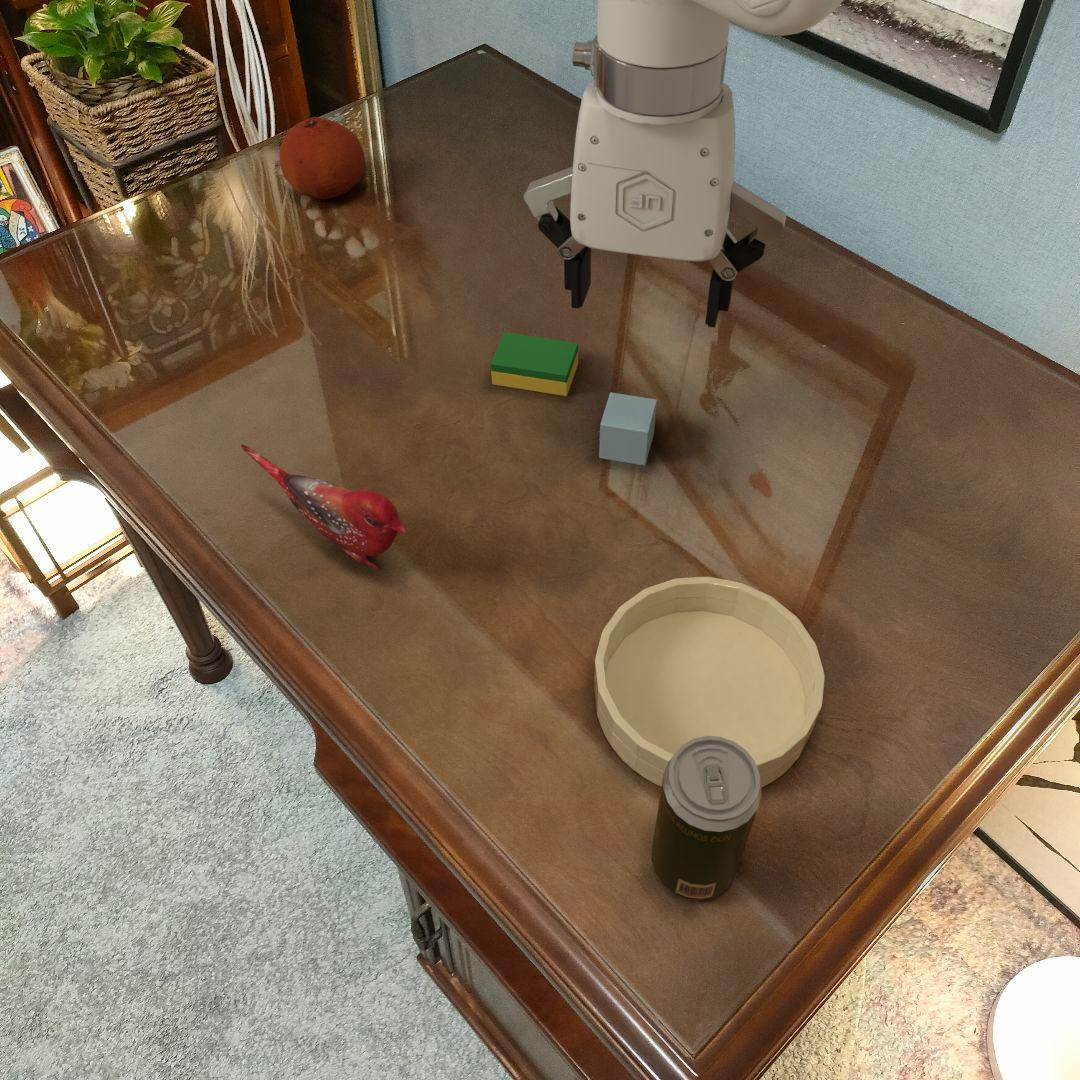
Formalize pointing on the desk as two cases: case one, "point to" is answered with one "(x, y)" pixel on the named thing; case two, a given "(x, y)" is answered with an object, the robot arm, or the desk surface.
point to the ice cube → (627, 428)
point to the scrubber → (534, 364)
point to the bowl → (706, 675)
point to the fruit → (321, 158)
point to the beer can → (704, 816)
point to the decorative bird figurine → (340, 511)
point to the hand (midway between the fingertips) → (646, 305)
